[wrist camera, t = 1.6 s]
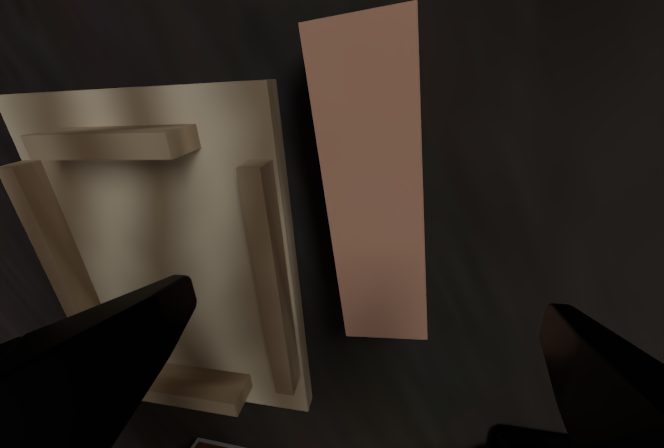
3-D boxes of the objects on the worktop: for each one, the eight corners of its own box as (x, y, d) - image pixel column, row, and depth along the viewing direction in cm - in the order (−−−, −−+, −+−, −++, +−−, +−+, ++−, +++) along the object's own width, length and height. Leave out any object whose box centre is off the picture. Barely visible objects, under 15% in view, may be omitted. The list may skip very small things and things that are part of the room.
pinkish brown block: (415, 15, 14) (417, -1, 11) (424, 290, 20) (427, 339, 16) (324, 32, 15) (298, 22, 12) (357, 289, 21) (346, 336, 17)
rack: (275, 79, 16) (243, 82, 13) (312, 397, 25) (298, 444, 22) (15, 93, 20) (-62, 99, 16) (130, 370, 29) (95, 408, 26)
